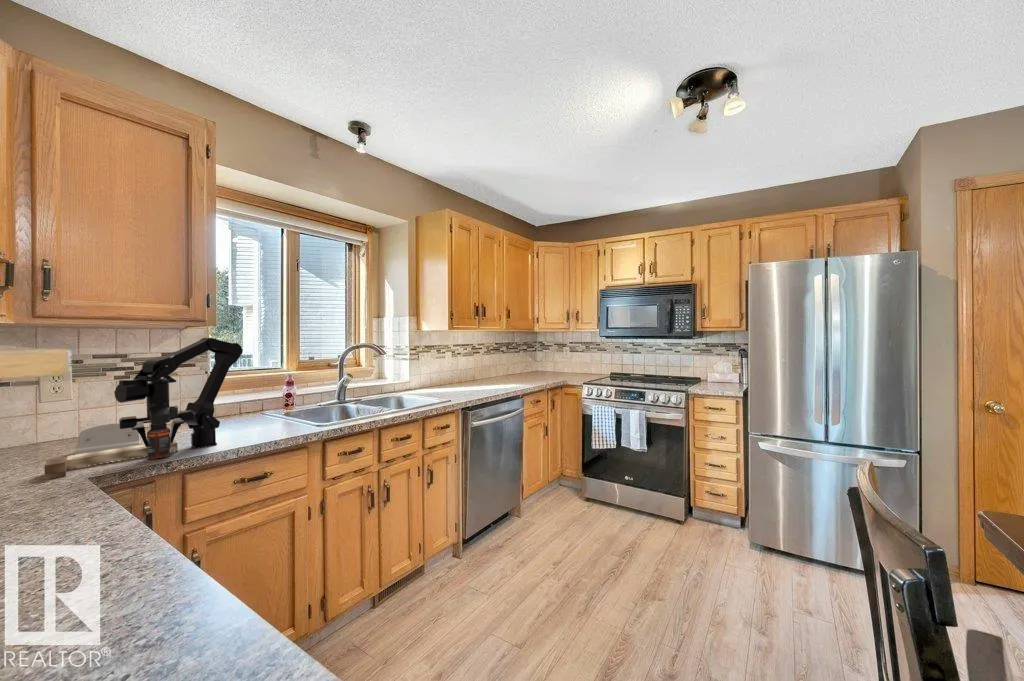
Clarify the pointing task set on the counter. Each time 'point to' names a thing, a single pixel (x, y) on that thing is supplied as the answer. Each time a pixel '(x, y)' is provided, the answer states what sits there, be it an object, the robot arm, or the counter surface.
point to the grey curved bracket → (106, 438)
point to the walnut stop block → (55, 468)
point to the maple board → (110, 455)
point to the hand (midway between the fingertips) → (159, 444)
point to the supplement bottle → (158, 441)
